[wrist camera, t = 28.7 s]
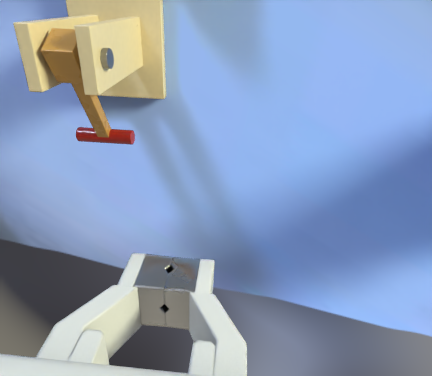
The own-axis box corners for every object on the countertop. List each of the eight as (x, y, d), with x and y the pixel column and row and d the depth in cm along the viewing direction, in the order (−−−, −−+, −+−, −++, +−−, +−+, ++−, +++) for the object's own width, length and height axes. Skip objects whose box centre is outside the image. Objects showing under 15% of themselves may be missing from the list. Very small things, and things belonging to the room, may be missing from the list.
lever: (136, 131, 33) (131, 151, 32) (84, 128, 33) (77, 148, 32) (103, 30, 23) (94, 53, 22) (30, 26, 23) (17, 49, 22)
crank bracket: (166, 96, 36) (130, 141, 25) (85, 91, 37) (13, 134, 25) (162, -23, 31) (114, -36, 20) (67, -27, 31) (-35, -41, 20)
